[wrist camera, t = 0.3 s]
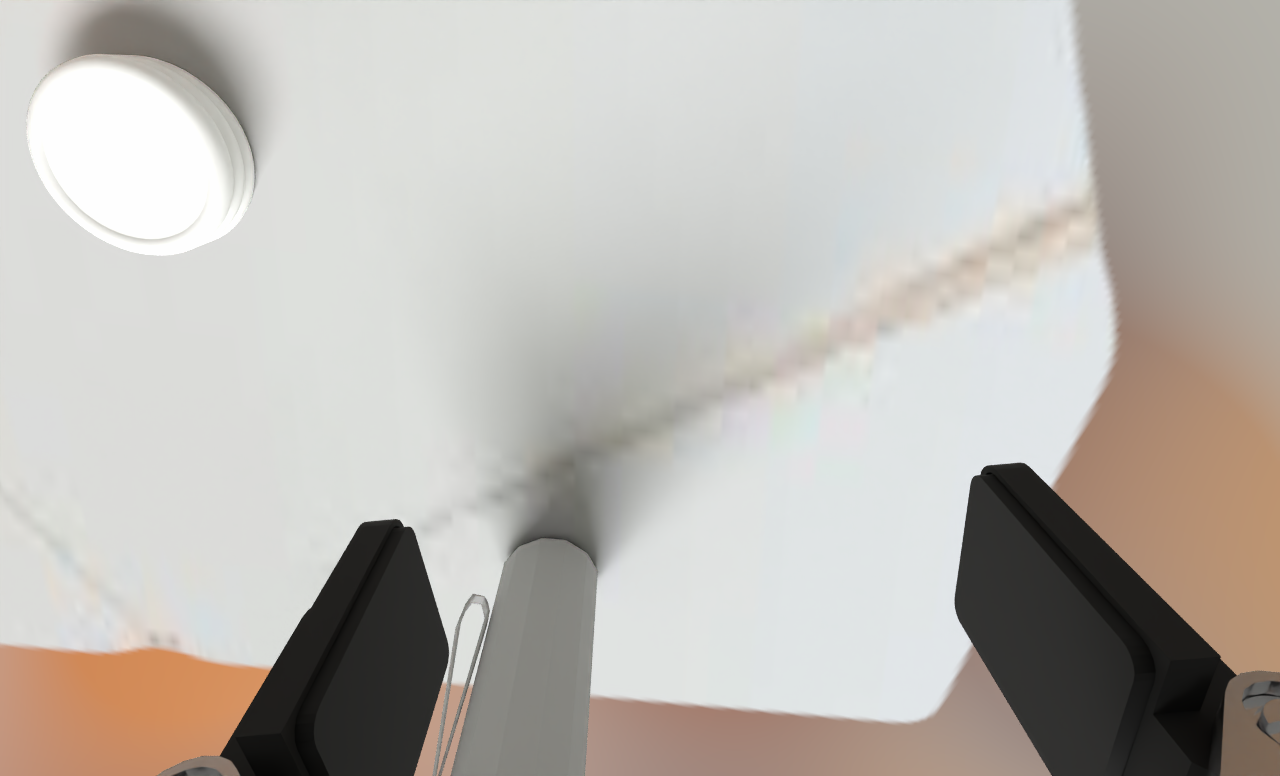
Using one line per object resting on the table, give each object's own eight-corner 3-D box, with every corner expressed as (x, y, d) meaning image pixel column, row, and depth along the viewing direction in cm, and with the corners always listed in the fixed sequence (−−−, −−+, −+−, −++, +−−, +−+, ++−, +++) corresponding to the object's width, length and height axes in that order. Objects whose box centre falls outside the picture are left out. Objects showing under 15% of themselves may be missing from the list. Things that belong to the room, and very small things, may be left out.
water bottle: (615, 545, 49) (604, 943, 27) (579, 619, 52) (542, 1032, 30) (496, 507, 48) (377, 897, 25) (466, 586, 51) (336, 997, 28)
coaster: (203, 276, 40) (166, 294, 37) (40, 156, 37) (-14, 163, 34) (293, 153, 38) (262, 160, 34) (124, 11, 34) (73, 4, 31)
